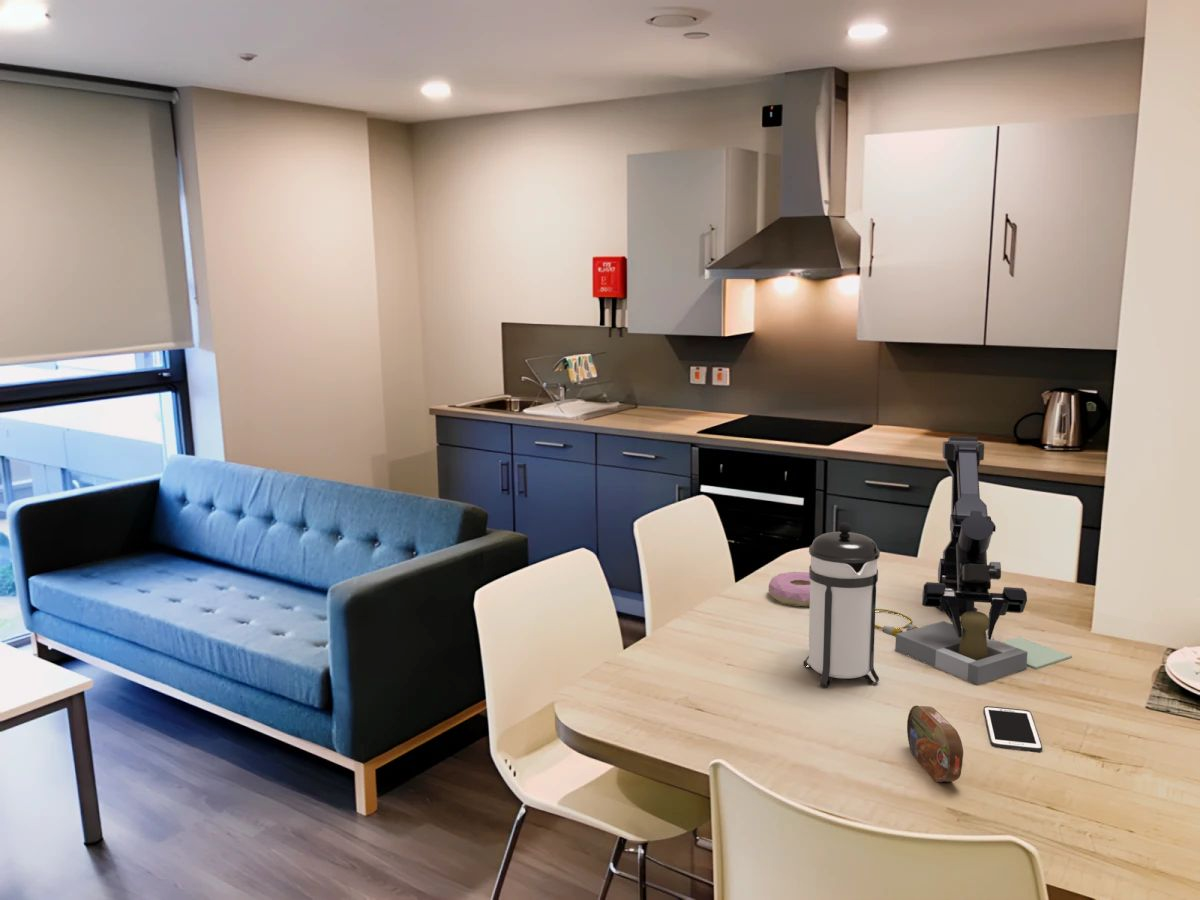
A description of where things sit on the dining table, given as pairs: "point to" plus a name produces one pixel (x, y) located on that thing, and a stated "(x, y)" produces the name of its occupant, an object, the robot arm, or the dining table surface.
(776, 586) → the donut
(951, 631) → the socket block
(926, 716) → the tin
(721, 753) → the dining table surface
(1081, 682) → the dining table surface
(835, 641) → the coffee press
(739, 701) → the dining table surface
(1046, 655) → the mat
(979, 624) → the cork
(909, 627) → the gold chain necklace
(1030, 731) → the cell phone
